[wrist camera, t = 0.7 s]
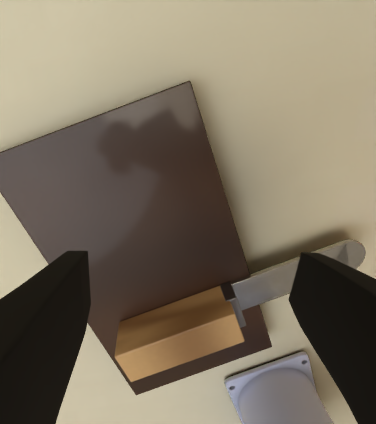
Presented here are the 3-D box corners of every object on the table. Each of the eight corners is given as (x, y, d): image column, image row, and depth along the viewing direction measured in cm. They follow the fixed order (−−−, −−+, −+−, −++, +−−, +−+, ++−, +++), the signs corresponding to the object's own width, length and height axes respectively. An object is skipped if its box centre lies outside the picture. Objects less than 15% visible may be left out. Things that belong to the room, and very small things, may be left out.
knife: (133, 346, 21) (131, 383, 19) (118, 321, 20) (113, 356, 17) (363, 263, 21) (395, 288, 18) (360, 233, 20) (394, 255, 17)
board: (265, 332, 25) (272, 346, 23) (136, 378, 25) (136, 395, 23) (186, 81, 16) (190, 80, 15) (-7, 155, 16) (-22, 160, 15)
